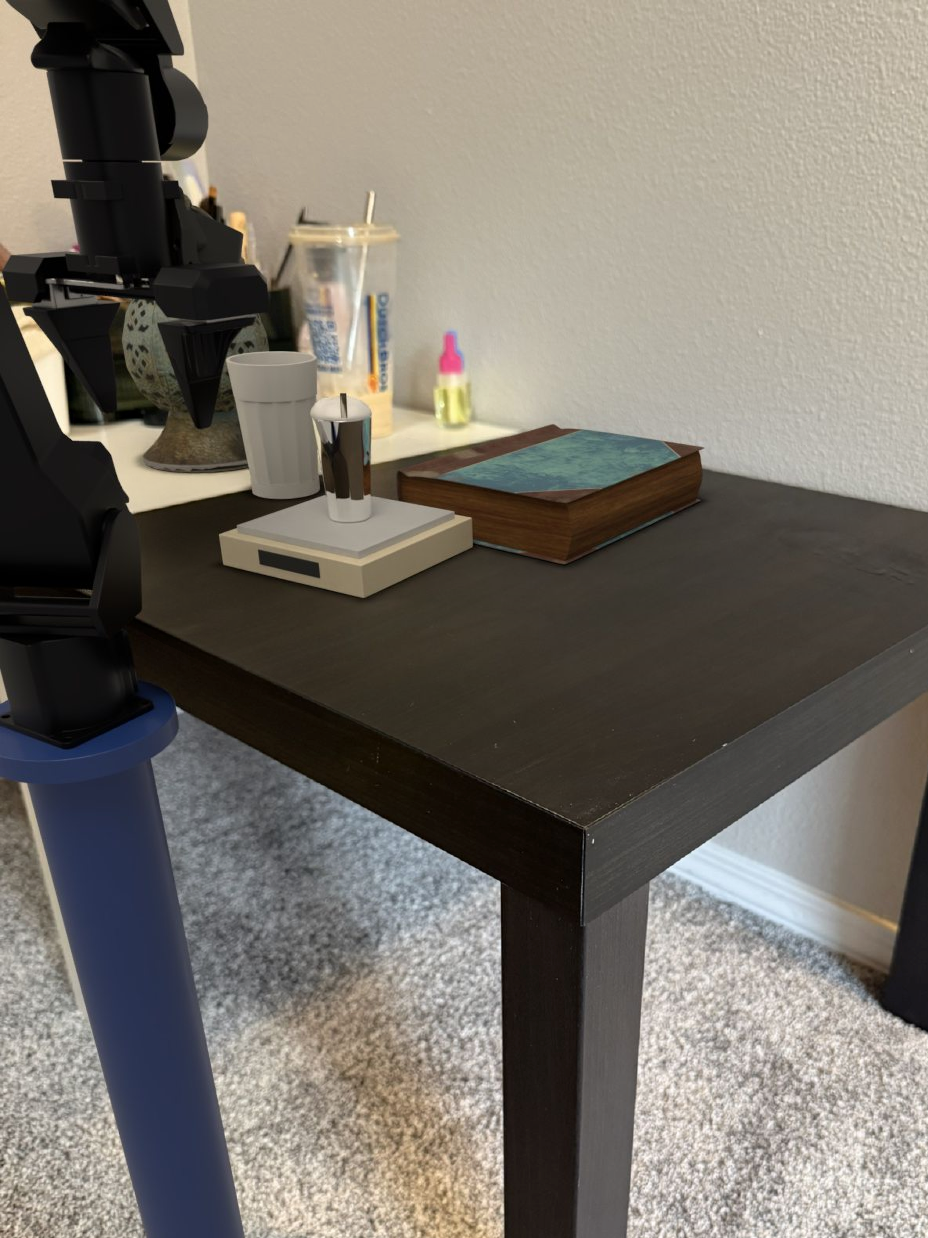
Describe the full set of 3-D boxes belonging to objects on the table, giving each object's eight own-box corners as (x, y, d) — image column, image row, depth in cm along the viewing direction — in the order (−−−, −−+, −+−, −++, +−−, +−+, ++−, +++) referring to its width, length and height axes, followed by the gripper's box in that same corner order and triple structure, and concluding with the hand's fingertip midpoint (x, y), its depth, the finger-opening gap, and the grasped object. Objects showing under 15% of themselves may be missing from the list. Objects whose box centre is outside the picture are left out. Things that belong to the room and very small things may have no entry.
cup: (338, 480, 107) (327, 352, 101) (314, 502, 100) (300, 366, 94) (260, 477, 107) (244, 350, 102) (230, 499, 100) (212, 363, 95)
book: (549, 473, 110) (550, 422, 108) (703, 501, 102) (707, 447, 99) (398, 526, 94) (395, 468, 91) (567, 565, 85) (568, 502, 83)
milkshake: (323, 530, 82) (310, 394, 77) (318, 511, 87) (305, 381, 82) (384, 526, 83) (374, 391, 78) (375, 507, 88) (366, 378, 83)
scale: (363, 599, 78) (360, 557, 77) (222, 565, 84) (216, 526, 83) (473, 547, 89) (472, 510, 87) (341, 520, 95) (337, 485, 94)
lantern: (114, 457, 114) (64, 190, 102) (225, 434, 124) (192, 188, 112) (196, 479, 106) (153, 193, 95) (308, 453, 116) (281, 191, 105)
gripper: (316, 163, 69) (337, 415, 76) (115, 160, 77) (152, 388, 85) (181, 163, 61) (221, 446, 68) (-28, 159, 69) (27, 412, 76)
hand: (155, 420), depth 74 cm, fingers open, 9 cm apart
